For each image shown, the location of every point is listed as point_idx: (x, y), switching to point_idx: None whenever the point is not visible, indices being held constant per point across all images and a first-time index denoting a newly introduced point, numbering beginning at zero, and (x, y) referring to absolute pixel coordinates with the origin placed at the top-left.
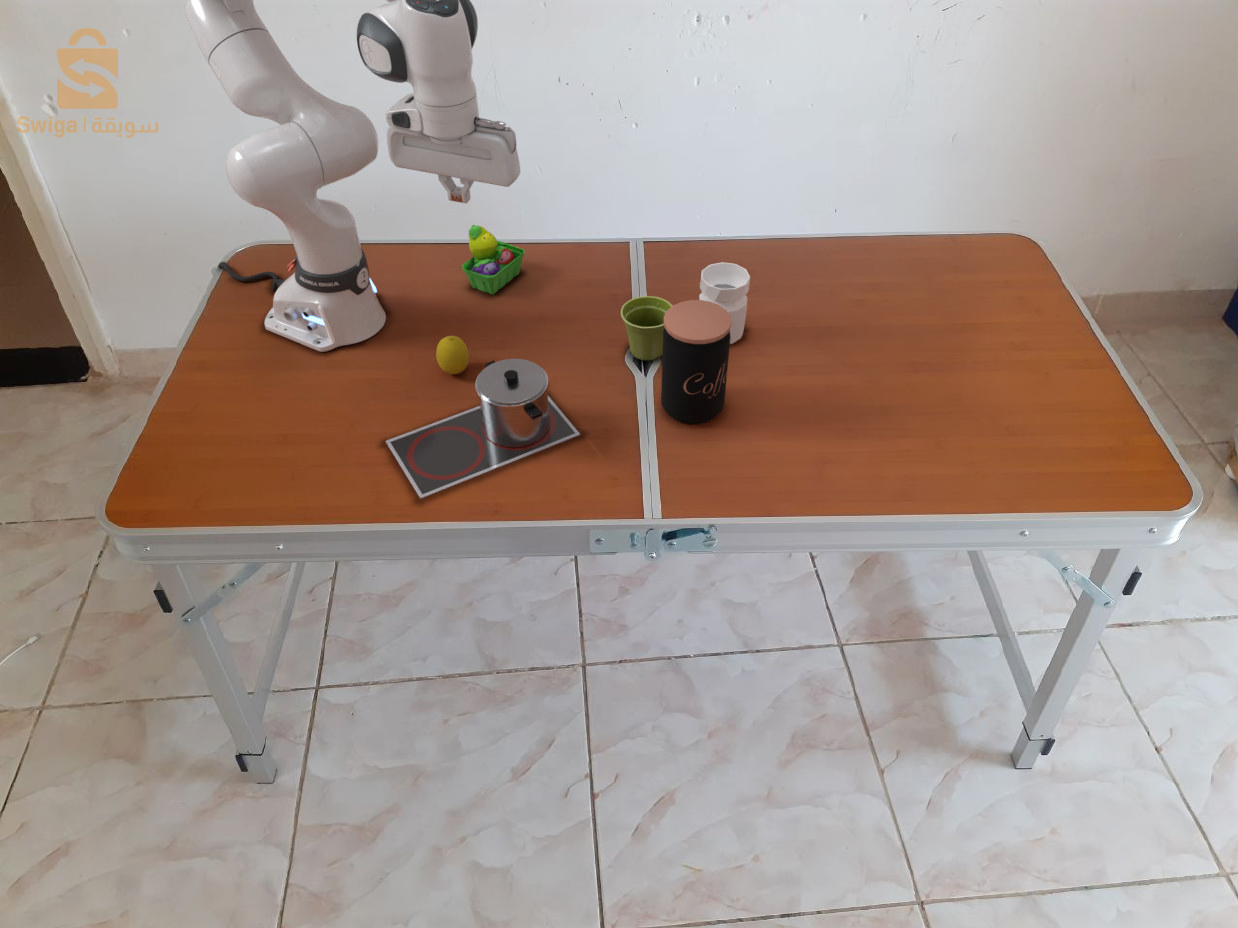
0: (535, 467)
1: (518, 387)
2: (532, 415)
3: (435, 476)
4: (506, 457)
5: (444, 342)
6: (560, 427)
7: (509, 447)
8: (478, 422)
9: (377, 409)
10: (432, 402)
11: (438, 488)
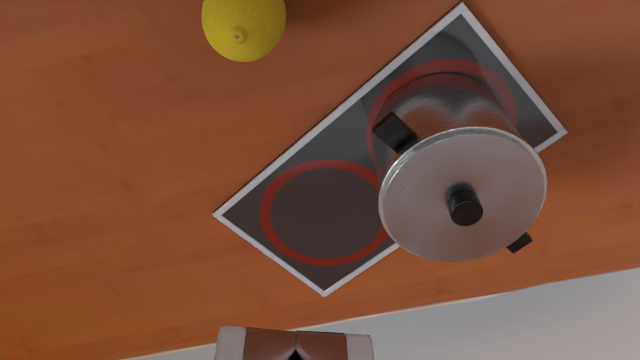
0: None
1: (483, 220)
2: (514, 251)
3: (329, 260)
4: None
5: (228, 47)
6: (526, 122)
7: None
8: (360, 141)
9: (146, 141)
10: (243, 100)
11: (344, 279)
